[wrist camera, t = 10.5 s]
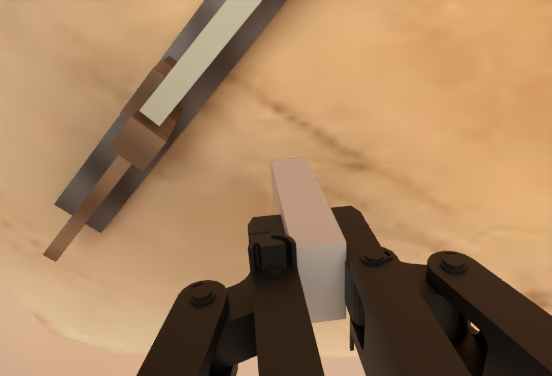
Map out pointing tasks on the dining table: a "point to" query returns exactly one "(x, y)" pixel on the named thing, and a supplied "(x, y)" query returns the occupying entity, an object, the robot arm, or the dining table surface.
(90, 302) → the dining table surface
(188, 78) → the beige flat panel
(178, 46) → the fence
